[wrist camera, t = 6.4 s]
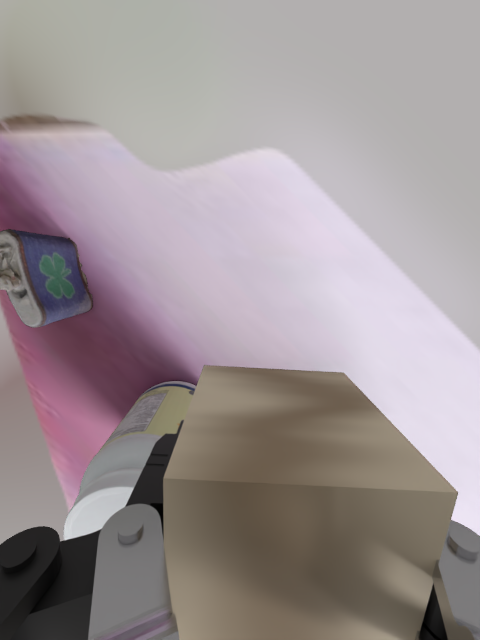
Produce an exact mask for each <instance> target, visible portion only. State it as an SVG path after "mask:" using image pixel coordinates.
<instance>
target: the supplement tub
mask: <svg viewBox="0 0 480 640" xmlns="http://www.w3.org/2000/svg"><path fill="white" fill-rule="evenodd" d="M195 389H196V386H195V385H193V384H191V383H188V382H182V381H169V382H164V383H160V384H158V385H155V386H153V387H151V388H150V389H148V390H147V391H145V392H144V393H143V394H142V395H141V396H140V397H139V398H138V400H137V401H136V403H135V404H134V405H133V407H132V408H131V409H130V411H129V412H128V413H127V415H126V416H125V417H124V419H123V420H122V421H121V423H120V424H119V425H118V427H117V428H116V429H115V431H114V432H113V433H112V434H111V436H110V437H109V438H108V440H107V441H106V442H105V444H104V445H103V446H102V448H101V449H100V450H99V452H98V453H97V454H96V455H95V457H94V458H93V459H92V460H91V462H90V464H89V466H88V467H87V469H86V471H85V473H84V475H83V478H82V481H81V486H80V492H79V495H78V497H77V499H76V501H75V503H74V506H73V507H72V509H71V511H70V512H69V514H68V516H67V519H66V521H65V525H64V540H68V539H72V538H76V537H79V536H83V535H87V534H90V533H93V532H96V531H98V530H100V529H102V527H103V526H104V524H105V523H106V521H107V520H108V519H109V518H110V517H111V516H112V515H113V514H115V513H116V512H117V511H119V510H120V509H122V508H124V507H125V506H126V504H127V502H128V500H129V498H130V495H131V493H132V491H133V489H134V487H135V485H136V483H137V481H138V479H139V476H140V474H141V472H142V470H143V468H144V466H145V465H146V462H147V460H148V458H149V456H150V453H151V451H152V449H153V447H154V445H155V443H156V442H157V441H158V440H159V439H160V438H161V437H162V436H163V435H164V434H166V433H167V434H176V433H177V430H178V428H179V425H180V422H181V420H184V419H185V417H186V414H187V411H188V408H189V405H190V403H191V400H192V397H193V394H194V392H195Z"/></svg>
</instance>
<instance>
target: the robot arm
mask: <svg viewBox="0 0 480 640" xmlns="http://www.w3.org/2000/svg"><path fill="white" fill-rule="evenodd" d="M183 422H184V420H181V422H180V425H179V428H178V430H177V433H176V434H167V433H166V434H164V435H163V436H162V437H161V438H160V439H159V440H158V441H157V442H156V443H155V445H154V447H153V449H152V451H151V453H150V456H149V458H148V460H147V462H146V465H145V466H144V468H143V470H142V472H141V474H140V476H139V479H138V481H137V483H136V485H135V487H134V489H133V491H132V493H131V495H130V498H129V500H128V502H127V504H126V506H125V507H124V508H122V509H120V510H119V511H117V512H116V513H115V514H113V515H112V516H111V517H110V518H109V519H108V520H107V521H106V523H105V524H104V526H103V527H102V529H100V530H98V531H96V532H93V533H90V534H87V535H83V536H79V537H76V538H72V539H68V540H64V541H61V542H60V539H59V535H58V533H57V532H56V531H55V530H54V529H52V528H50V527H45V526H43V527H34V528H31V529H27V530H25V531H22V532H20V533H18V534H16V535H14V536H12V537H11V538H9V539H7V540H6V541H5V542H3V543H2V544H1V545H0V640H180V639H179V632H178V626H177V621H176V616H175V613H173V610H172V604H171V597H170V589H169V581H168V573H167V565H166V557H165V550H164V518H163V478H164V475H165V472H166V469H167V467H168V464H169V461H170V458H171V455H172V453H173V450H174V447H175V444H176V442H177V439H178V436H179V433H180V430H181V428H182V425H183ZM432 579H433V586H432V590H431V593H430V597H429V600H428V604H427V608H426V611H425V615H424V619H423V622H422V626H421V630H420V631H417V633H416V637H415V640H480V536H479V535H477V534H476V533H475V532H473V531H472V530H470V529H469V528H467V527H465V526H464V525H462V524H460V523H458V522H455V521H452V520H451V521H450V524H449V528H448V531H447V535H446V539H445V542H444V546H443V550H442V553H441V557H440V560H436V564H435V568H434V571H433V575H432Z"/></svg>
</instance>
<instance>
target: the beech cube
mask: <svg viewBox="0 0 480 640" xmlns="http://www.w3.org/2000/svg"><path fill="white" fill-rule="evenodd" d="M457 495H458V492H457V491H456V490H455V489H454V488H453V487H452V486H451V485H450V483H449V482H448V481H447V480H446V479H445V478H444V477H443V476H442V475H441V474H440V473H439V472H438V471H437V470H436V469H435V468H434V467H433V466H432V465H431V464H430V463H429V462H428V460H427V459H426V458H425V457H424V456H423V455H422V454H421V453H420V452H419V451H418V450H417V449H416V448H415V447H414V446H413V445H412V444H411V443H410V442H409V441H408V440H407V439H406V437H405V436H404V435H403V434H402V433H401V432H400V431H399V430H398V429H397V428H396V427H395V426H394V425H393V424H392V423H391V422H390V421H389V420H388V419H387V418H386V417H385V415H384V414H383V413H382V412H381V411H380V410H379V409H378V408H377V407H376V406H375V405H374V404H373V403H372V402H371V401H370V400H369V399H368V398H367V397H366V396H365V395H364V394H363V392H362V391H361V390H360V389H359V388H358V387H357V386H356V385H355V384H354V383H353V382H352V381H351V380H350V379H349V378H348V377H347V376H346V375H345V374H344V373H339V372H320V371H301V370H282V369H264V368H245V367H226V366H207V365H204V367H203V369H202V372H201V375H200V378H199V380H198V383H197V386H196V389H195V392H194V394H193V397H192V400H191V403H190V405H189V408H188V411H187V414H186V417H185V419H184V422H183V425H182V428H181V430H180V433H179V436H178V439H177V442H176V444H175V447H174V450H173V453H172V455H171V458H170V461H169V464H168V467H167V469H166V472H165V475H164V478H163V518H164V550H165V557H166V565H167V573H168V581H169V589H170V597H171V604H172V610H173V613H175V616H176V621H177V626H178V632H179V639H180V640H415V637H416V633H417V631H420V630H421V626H422V622H423V619H424V615H425V611H426V608H427V604H428V600H429V597H430V593H431V590H432V586H433V579H432V575H433V571H434V568H435V564H436V560H440V557H441V553H442V550H443V546H444V542H445V539H446V535H447V531H448V528H449V524H450V521H451V517H452V513H453V510H454V506H455V502H456V499H457Z"/></svg>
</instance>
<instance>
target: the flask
mask: <svg viewBox="0 0 480 640" xmlns="http://www.w3.org/2000/svg"><path fill="white" fill-rule="evenodd" d="M81 266H82V265H81V263H80V262H79V255H78V250H77V246H76V244H75V243H74V242H73V241H72V240H70V238H68V239H66V238H63V237H57V236H49V235H42V234H36V233H29V232H24V231H16V230H11V229H8V230H3V231H1V232H0V290H1V289H2V290H6V292H7V294H8V296H9V299H10V301H11V302H12V304H13V306H14V308H15V310H16V312H17V314H18V315H19V317H20V318H21V321H22V322H23V323H24V324H25V325H27V326H29V327H42V326H44V325H47V324H49V323H52V322H55V321H59V320H61V319H64V318H68V317H72V316H74V315H78V314H81V313H85V312H88V311H89V310H90V309H92V305H93V303H92V302H93V300H92V295H91V294H90V293H89V290H88V285H87V284H88V283H87V278H86V276H85V274H84V273H83V272H82V270H81Z"/></svg>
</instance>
